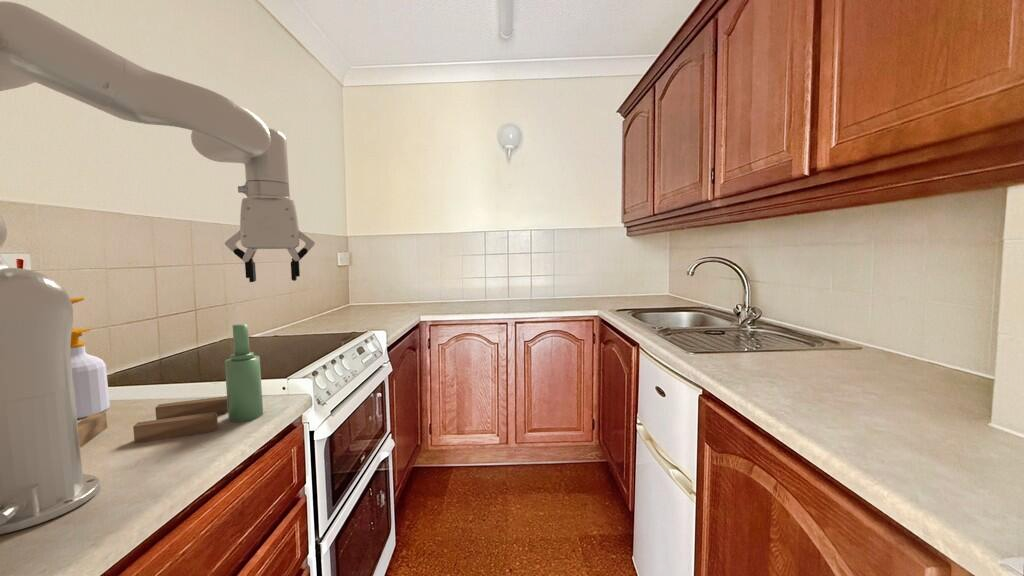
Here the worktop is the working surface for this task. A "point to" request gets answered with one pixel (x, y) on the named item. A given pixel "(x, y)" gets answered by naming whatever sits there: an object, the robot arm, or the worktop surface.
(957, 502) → the worktop surface
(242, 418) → the bottle
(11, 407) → the robot arm
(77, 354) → the soap bottle
